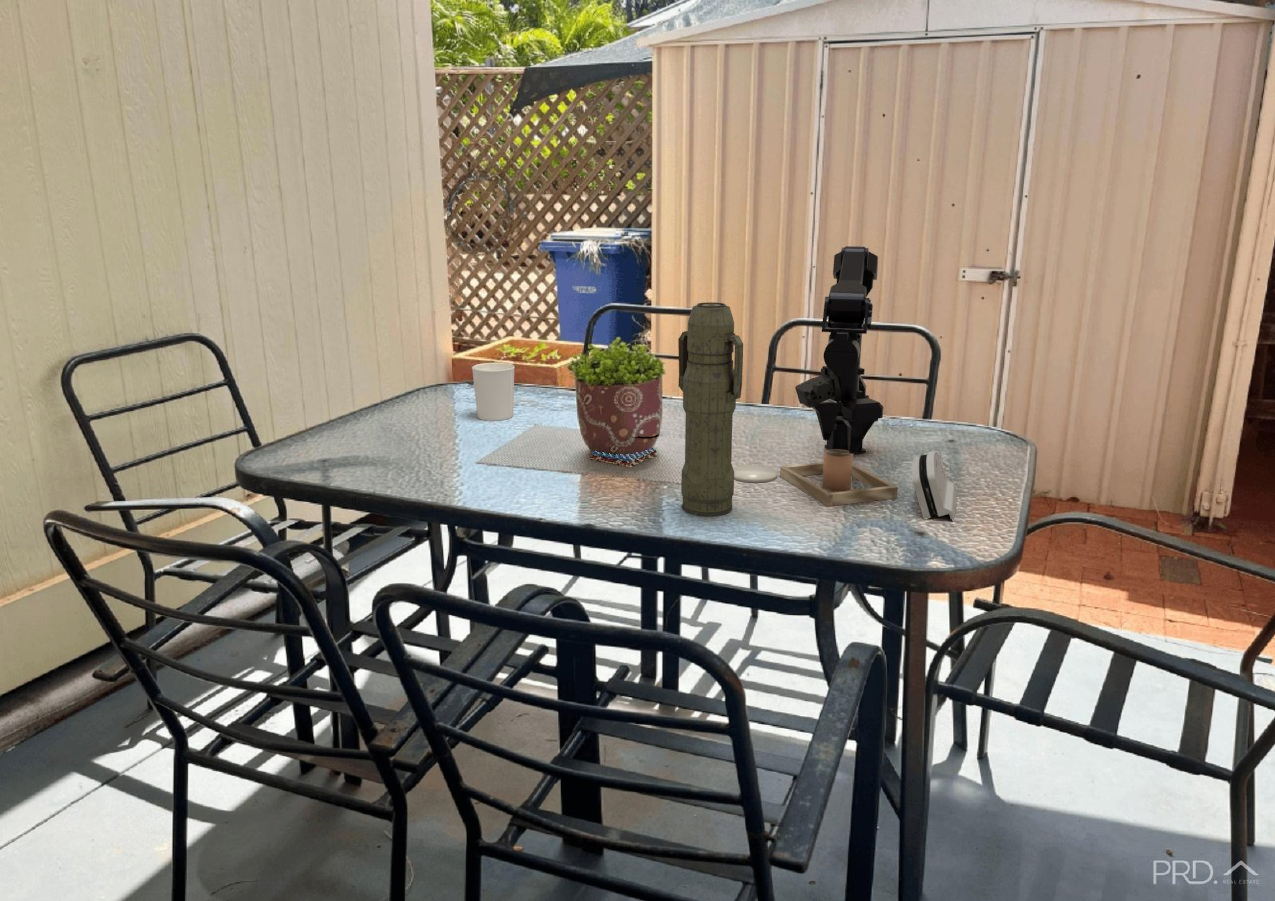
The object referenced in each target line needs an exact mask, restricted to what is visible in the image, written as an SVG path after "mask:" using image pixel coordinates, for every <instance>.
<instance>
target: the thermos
mask: <svg viewBox="0 0 1275 901" xmlns="http://www.w3.org/2000/svg"><path fill="white" fill-rule="evenodd" d="M677 346H678V383H677V384H678V387H679V389H680V390H681V392H682V408H683V411H684V413H685V430H684V431H685V432H684V433H685V435H684V436H685V437H684V440H685V441H684V463H683V466H682V469H681V481H680V482H681V490H680V491H681V493H680V494H681V496H682V504H681V508H682V510H683V511H685V513H687V514H691V515H695V516H698V517H699V516H700V517H718V516H723V515H726V514H729V513H730V512H732V510H733V497H734V494H735V492H734V491H735V479H734V470H733V467H734V466H733V464H732V457H733V456H732V454H733V451H732V450H733V449H732V448H733V419H734V418H733V416H734V415H733V414H734V413H735V410H736V408H737V400H738V399H740V398H742V396H741V395H742V388H743V369H744V368H743V367H744V366H743V365H744V343H743V340H742V339H741V336H740V335H736V333H735V321H734V316H733V313H732V310H731V307H730V306H729V305H727V304H726V303H724V302H715V301H714V302H713V301H712V302H711V301H710V302H699V303H697V304H696V305H693V306H692V307H691V311H690V314H689V316H688V319H687V330H684V331H682V333H681V334H680V335H679V338H678V345H677ZM733 353H734V360H733Z"/></svg>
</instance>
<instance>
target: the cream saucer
mask: <svg viewBox="0 0 1275 901" xmlns="http://www.w3.org/2000/svg"><path fill="white" fill-rule="evenodd" d="M732 467H733V470H734V481H739V482H742V483H749V484H750V483H751V484H760V483H761V484H762V483H768V482H769V483H770V482H773V481H775V480H776V479H777V478H778V471H777V470H776V469H775V468H772V467H769V466H768V465H767V466H766V465H761V464H744V465H742V464H741V465H736V466H732Z"/></svg>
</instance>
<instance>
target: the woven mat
mask: <svg viewBox="0 0 1275 901" xmlns="http://www.w3.org/2000/svg"><path fill="white" fill-rule="evenodd" d="M650 448H651V449H650ZM650 448H649V449H648V450H645V451H642V452H640V453H638V452H636V453H633V454H630V453H628V454H626V455H624V454H620V455H619V454H616V455H614V454H610V453H609V454H607V453H606V452H605V453H604V452H602V453H603V454H602V453H601V452H597V451H596V450H595V451H592V452H591V454H590V460H591V459H595V460H594V461H596V460H597V462H601V463H607V464H611V463H613V464H612V465H617V466H622V467H626V468H633V467H634V466H637V464H638V465H639V464H641V463H642V462H645V461H647V460H650V459H654V457H657V456H658V453H657V449H654V447H650ZM601 456H602V457H601ZM620 460H621V461H620ZM612 461H613V462H612ZM623 463H624V464H623Z"/></svg>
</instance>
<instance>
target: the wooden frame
mask: <svg viewBox="0 0 1275 901" xmlns="http://www.w3.org/2000/svg"><path fill="white" fill-rule="evenodd" d="M779 468H780V469H779V477H780V478H781V479H783V480H785V481H786V482H787V483H789V484H791V485H793V486H794V487H796V488H797V489H799V490H800V491H802V492H804V493H805V494H807V495H808V496H810V497H812V498H813V499H815V500H816V501H818V502H819V503H821V504H823V505H824V506H826V507H832V506H841V505H848V504H856V503H863V502H864V503H866V502H873V501H883V500H891V499H897V498H898V492H899V487H898V486H896V485H894V484H893V483H891V482H889V481H887V480H885V479H883V478H881V477H879V476H878V475H876V474H874V473H871V472H870V471H868V470H866V469H864V468H862V467H860V466H858V465H857V464H854V463H852V477H853V478H854V479H856V480H858V481H860V482H861V483H863V484H865V485H867V486H869V487H870V488H860V489H850V490H848V491H842V492H836V491H832V492H829V490H826V489H824V488H823V487H822V486H819V485H817V484H816V483H814V482H812V481H811V480H809V479H808V478H806V476H814V475H815V476H816V475H823V461H821V462H811V463H801V464H792V465H782V466H780V467H779Z"/></svg>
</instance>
